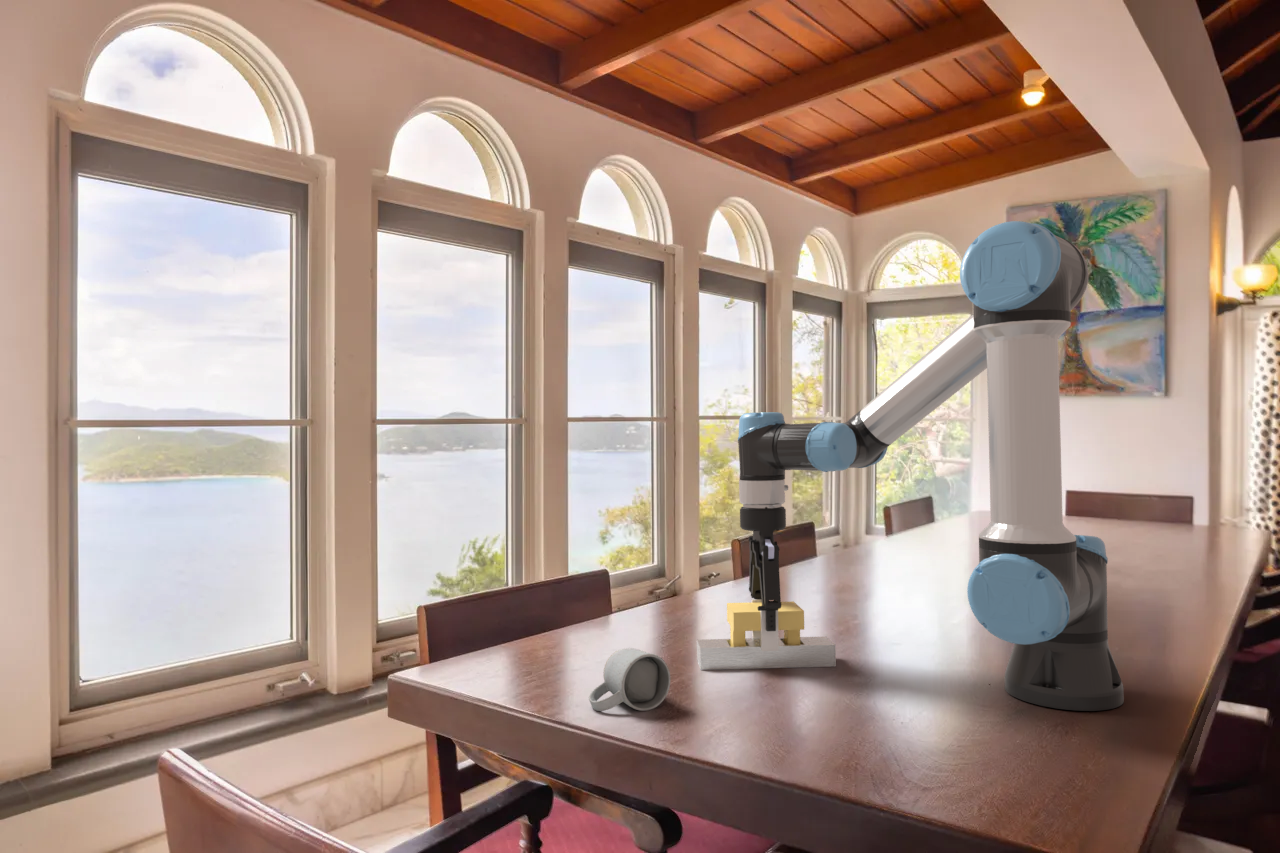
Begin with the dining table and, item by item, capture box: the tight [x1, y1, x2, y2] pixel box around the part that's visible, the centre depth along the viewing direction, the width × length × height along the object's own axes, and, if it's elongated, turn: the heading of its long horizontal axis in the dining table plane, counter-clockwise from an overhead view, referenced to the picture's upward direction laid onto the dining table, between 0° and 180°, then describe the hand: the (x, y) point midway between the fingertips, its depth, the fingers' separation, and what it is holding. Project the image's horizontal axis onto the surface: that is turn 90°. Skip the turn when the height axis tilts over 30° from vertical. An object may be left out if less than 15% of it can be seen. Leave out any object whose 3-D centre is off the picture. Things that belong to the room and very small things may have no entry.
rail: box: [696, 636, 837, 671], centre depth 137 cm, size 6×22×4 cm, turn 92°
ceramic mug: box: [588, 647, 671, 712], centre depth 118 cm, size 11×8×8 cm
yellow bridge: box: [726, 600, 805, 646], centre depth 137 cm, size 8×11×8 cm, turn 92°
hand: (765, 643), depth 137 cm, fingers closed on yellow bridge, 8 cm apart
